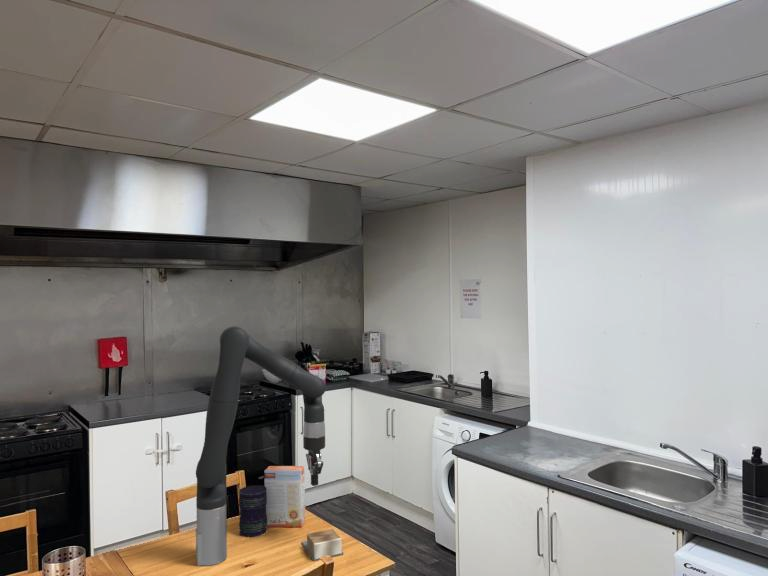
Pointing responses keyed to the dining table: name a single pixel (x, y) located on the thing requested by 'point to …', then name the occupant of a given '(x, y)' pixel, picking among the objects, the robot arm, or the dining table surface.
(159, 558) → the dining table surface
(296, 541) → the dining table surface
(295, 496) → the cracker box
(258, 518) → the storage jar
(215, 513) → the robot arm
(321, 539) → the brown and white block
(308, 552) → the mat
